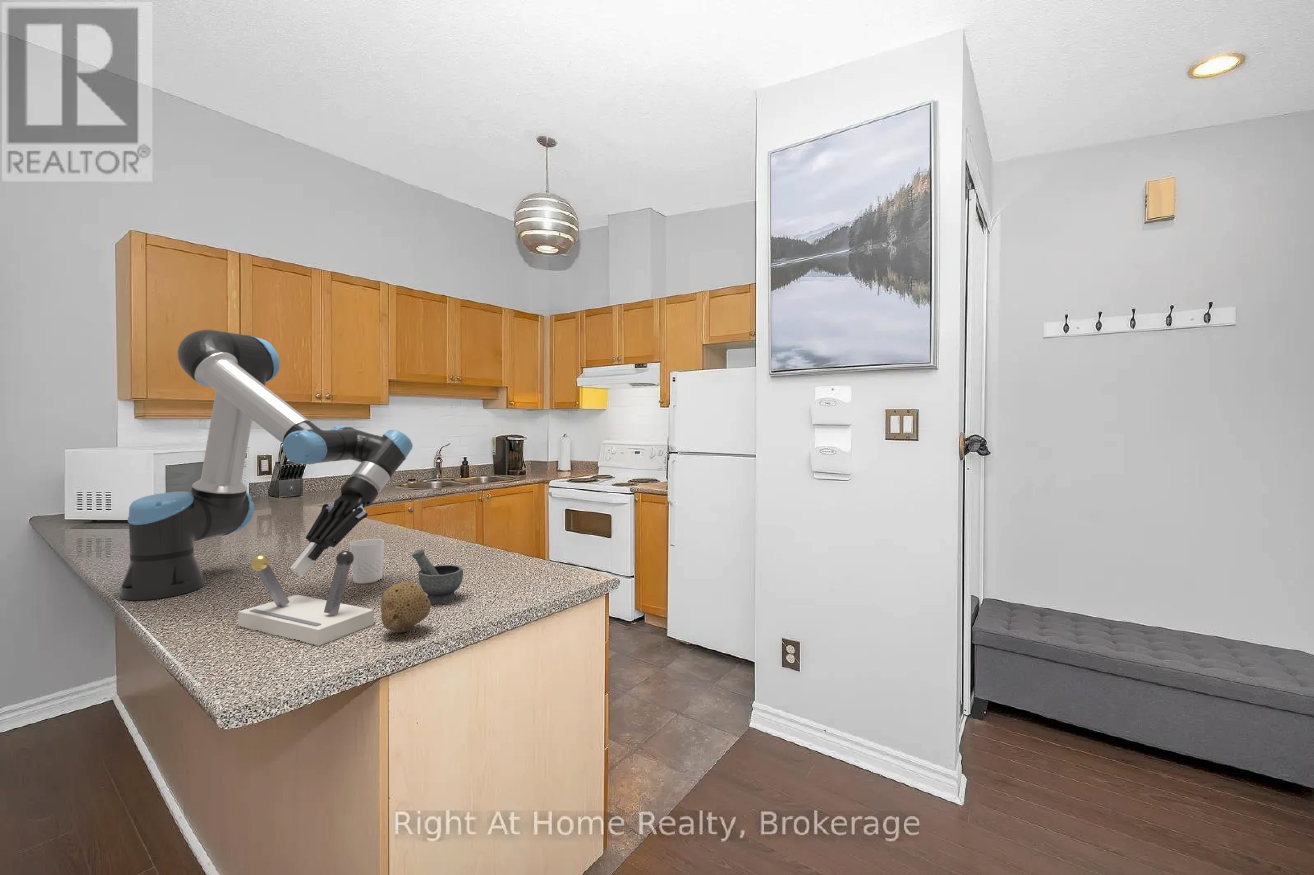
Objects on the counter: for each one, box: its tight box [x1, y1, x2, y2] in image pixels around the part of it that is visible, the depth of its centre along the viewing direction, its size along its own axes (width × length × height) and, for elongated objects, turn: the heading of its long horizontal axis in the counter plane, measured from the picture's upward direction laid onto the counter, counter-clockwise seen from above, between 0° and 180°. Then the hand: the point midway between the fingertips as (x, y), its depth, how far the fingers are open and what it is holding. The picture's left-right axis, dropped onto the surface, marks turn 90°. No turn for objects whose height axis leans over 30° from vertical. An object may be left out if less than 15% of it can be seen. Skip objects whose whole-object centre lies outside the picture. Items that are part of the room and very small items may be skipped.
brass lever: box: [249, 554, 289, 607], centre depth 114 cm, size 3×3×12 cm
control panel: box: [237, 594, 375, 647], centre depth 114 cm, size 12×24×3 cm, turn 67°
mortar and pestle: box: [411, 548, 464, 605], centre depth 131 cm, size 11×9×12 cm
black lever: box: [324, 550, 354, 614], centre depth 113 cm, size 3×3×12 cm
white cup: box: [349, 538, 385, 585], centre depth 146 cm, size 8×8×10 cm
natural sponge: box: [380, 580, 432, 634], centre depth 111 cm, size 9×9×10 cm
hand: (296, 571), depth 119 cm, fingers closed
